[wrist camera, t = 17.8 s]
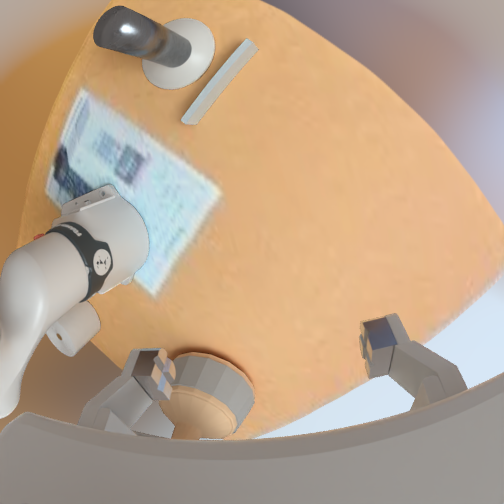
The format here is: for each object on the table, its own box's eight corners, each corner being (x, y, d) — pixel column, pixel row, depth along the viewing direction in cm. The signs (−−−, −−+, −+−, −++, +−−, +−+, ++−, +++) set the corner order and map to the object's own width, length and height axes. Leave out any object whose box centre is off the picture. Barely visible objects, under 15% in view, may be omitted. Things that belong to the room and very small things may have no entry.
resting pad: (144, 96, 38) (142, 96, 38) (144, 31, 34) (142, 30, 33) (217, 82, 35) (215, 81, 35) (214, 11, 31) (212, 10, 30)
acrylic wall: (196, 124, 38) (185, 124, 35) (191, 120, 38) (180, 120, 35) (258, 49, 32) (252, 42, 29) (253, 45, 32) (246, 38, 29)
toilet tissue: (105, 338, 61) (81, 363, 52) (73, 325, 64) (49, 346, 55) (95, 300, 57) (66, 324, 48) (62, 289, 60) (34, 309, 51)
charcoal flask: (171, 74, 35) (104, 55, 22) (154, 53, 35) (87, 32, 21) (198, 51, 33) (137, 19, 20) (179, 30, 32) (117, -2, 19)
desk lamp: (248, 341, 50) (160, 536, 17) (274, 408, 56) (225, 563, 23) (153, 346, 57) (51, 477, 24) (189, 405, 63) (121, 526, 30)
